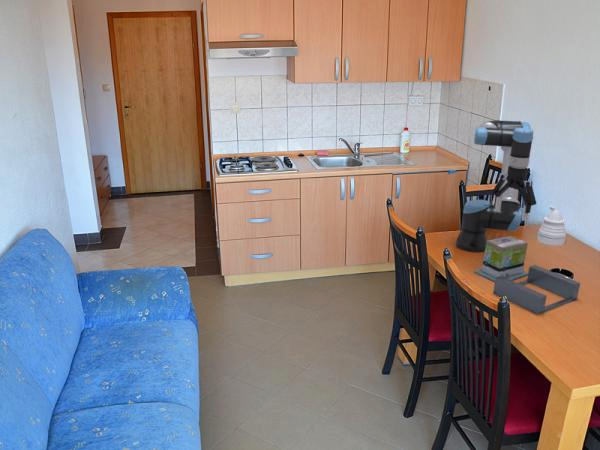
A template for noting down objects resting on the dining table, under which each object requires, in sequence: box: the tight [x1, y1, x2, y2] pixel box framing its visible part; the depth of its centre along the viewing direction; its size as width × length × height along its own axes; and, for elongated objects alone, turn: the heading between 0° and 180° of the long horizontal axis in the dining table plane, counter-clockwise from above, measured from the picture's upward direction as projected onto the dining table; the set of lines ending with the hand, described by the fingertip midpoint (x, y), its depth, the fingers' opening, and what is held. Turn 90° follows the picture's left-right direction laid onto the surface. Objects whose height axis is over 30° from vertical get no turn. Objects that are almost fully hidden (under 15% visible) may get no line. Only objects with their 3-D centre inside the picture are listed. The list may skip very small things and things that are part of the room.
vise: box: [492, 264, 581, 315], centre depth 215 cm, size 20×32×7 cm, turn 122°
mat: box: [473, 268, 529, 283], centre depth 234 cm, size 14×19×1 cm
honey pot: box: [536, 205, 567, 246], centre depth 271 cm, size 13×13×18 cm
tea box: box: [481, 235, 529, 278], centre depth 231 cm, size 15×10×15 cm, turn 119°
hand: (510, 215), depth 226 cm, fingers open, 13 cm apart
